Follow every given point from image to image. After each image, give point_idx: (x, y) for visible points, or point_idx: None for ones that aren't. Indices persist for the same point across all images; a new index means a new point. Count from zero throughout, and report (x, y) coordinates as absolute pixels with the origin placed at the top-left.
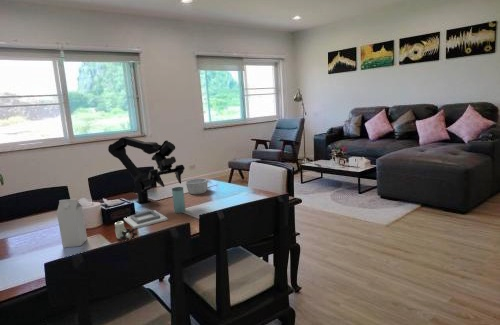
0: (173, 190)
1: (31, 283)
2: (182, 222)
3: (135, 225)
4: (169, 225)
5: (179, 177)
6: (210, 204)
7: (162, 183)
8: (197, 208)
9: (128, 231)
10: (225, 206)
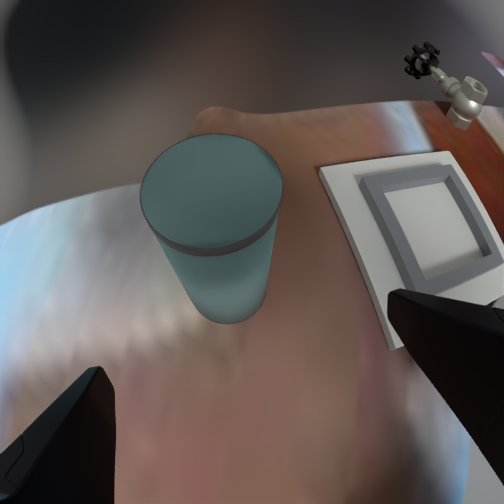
0: (268, 159)
1: (496, 64)
2: (251, 119)
3: (447, 158)
4: (310, 116)
5: (52, 425)
6: (31, 308)
7: (434, 298)
8: (112, 278)
9: (424, 48)
10: (7, 229)
